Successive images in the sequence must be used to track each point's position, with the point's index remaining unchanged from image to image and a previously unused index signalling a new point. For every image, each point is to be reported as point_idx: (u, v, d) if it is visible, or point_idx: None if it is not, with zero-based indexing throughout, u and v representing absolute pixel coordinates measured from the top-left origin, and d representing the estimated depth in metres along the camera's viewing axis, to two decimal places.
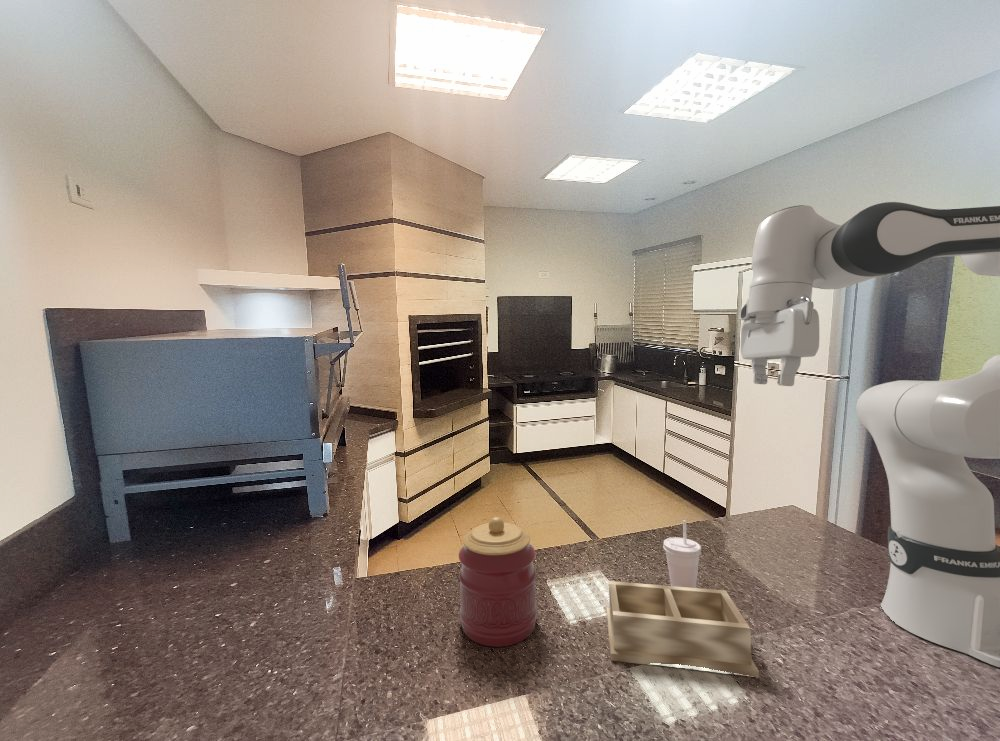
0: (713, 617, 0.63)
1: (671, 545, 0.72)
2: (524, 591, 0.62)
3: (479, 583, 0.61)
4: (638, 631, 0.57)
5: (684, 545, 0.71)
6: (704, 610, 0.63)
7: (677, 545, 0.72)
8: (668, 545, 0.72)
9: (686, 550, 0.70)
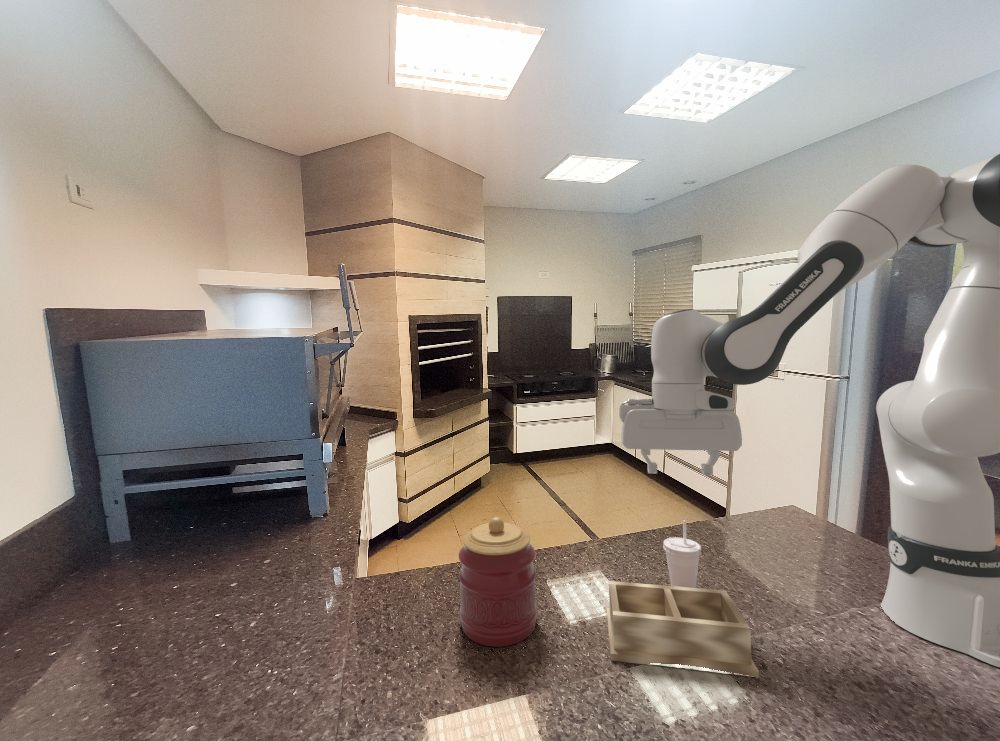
0: (713, 617, 0.63)
1: (671, 545, 0.72)
2: (524, 591, 0.62)
3: (479, 583, 0.61)
4: (638, 631, 0.57)
5: (684, 545, 0.71)
6: (704, 610, 0.63)
7: (677, 545, 0.72)
8: (668, 545, 0.72)
9: (686, 550, 0.70)
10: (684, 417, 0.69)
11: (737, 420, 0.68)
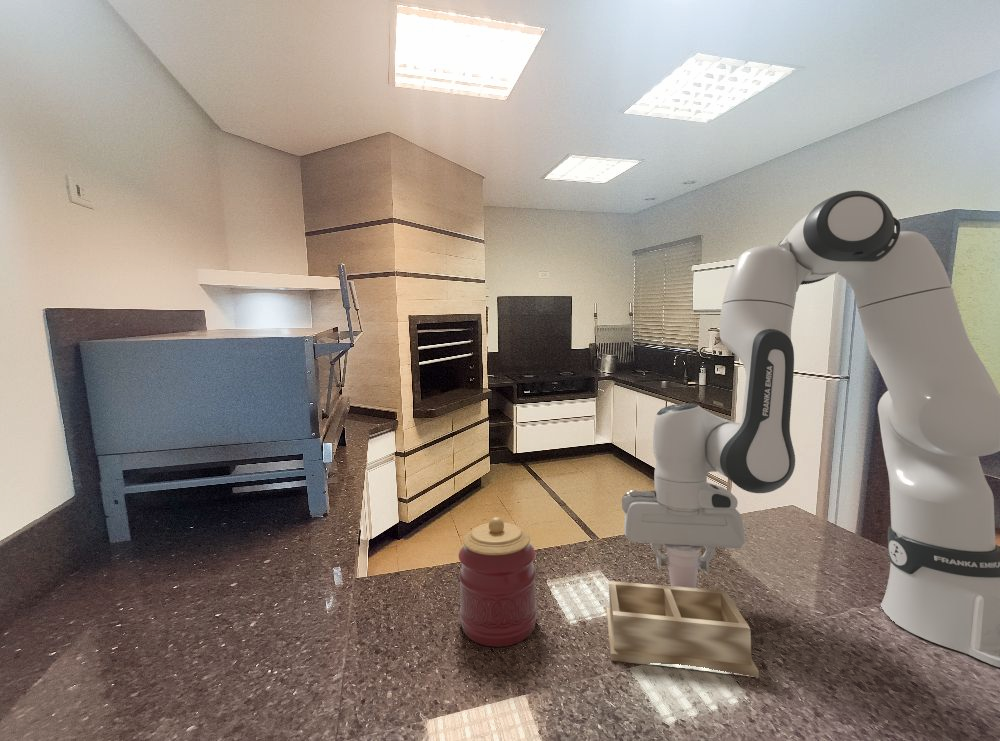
0: (713, 617, 0.63)
1: (671, 545, 0.72)
2: (524, 591, 0.62)
3: (479, 583, 0.61)
4: (638, 631, 0.57)
5: (684, 545, 0.71)
6: (704, 610, 0.63)
7: (677, 545, 0.72)
8: (668, 545, 0.72)
9: (686, 550, 0.70)
10: (687, 514, 0.69)
11: (740, 519, 0.68)
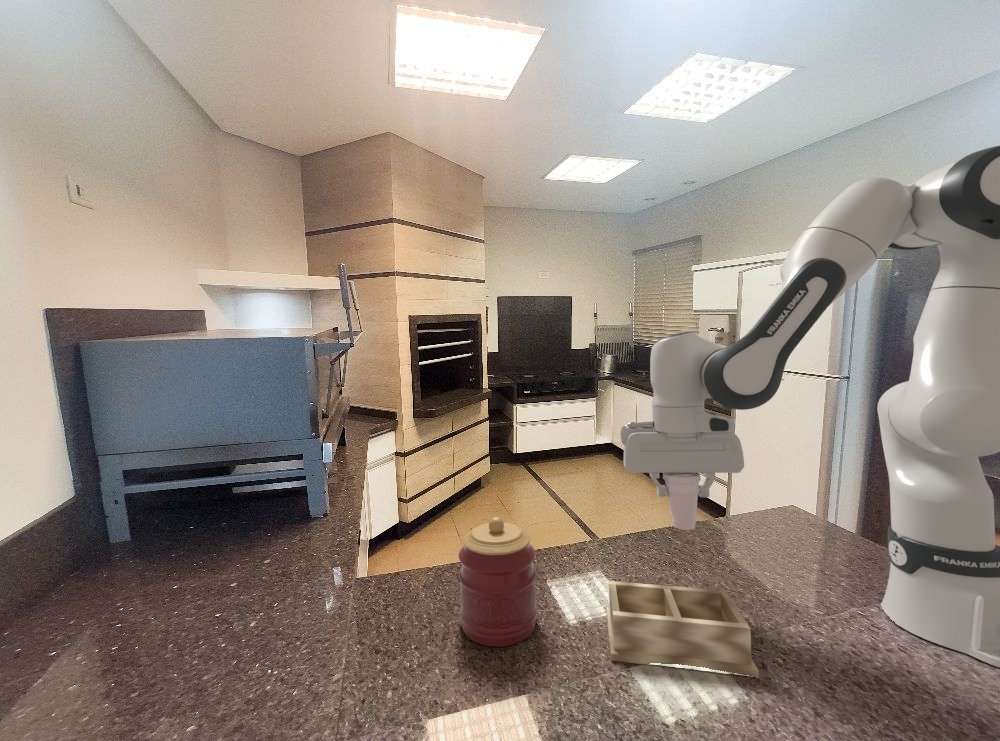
0: (713, 617, 0.63)
1: (670, 474, 0.72)
2: (524, 591, 0.62)
3: (479, 583, 0.61)
4: (638, 631, 0.57)
5: (683, 473, 0.72)
6: (704, 610, 0.63)
7: (676, 474, 0.72)
8: (667, 474, 0.72)
9: (685, 477, 0.70)
10: (685, 440, 0.69)
11: (738, 442, 0.68)
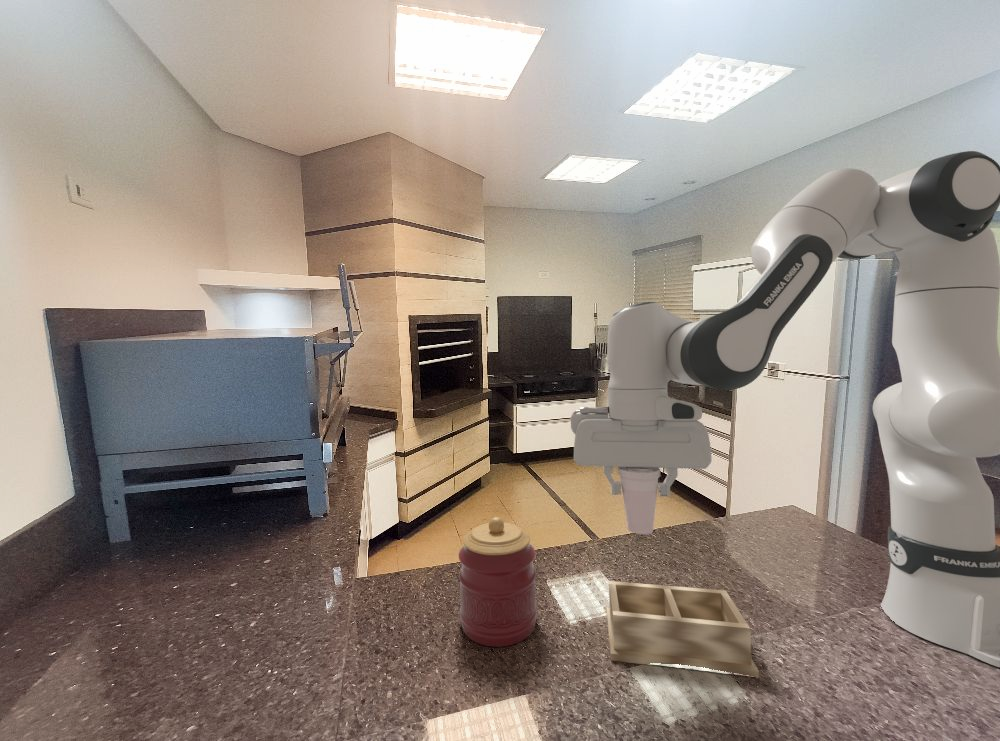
0: (713, 617, 0.63)
1: (626, 469, 0.61)
2: (524, 591, 0.62)
3: (479, 583, 0.61)
4: (638, 631, 0.57)
5: (641, 468, 0.61)
6: (704, 610, 0.63)
7: (632, 468, 0.61)
8: (622, 469, 0.61)
9: (642, 472, 0.59)
10: (643, 429, 0.59)
11: (705, 432, 0.57)
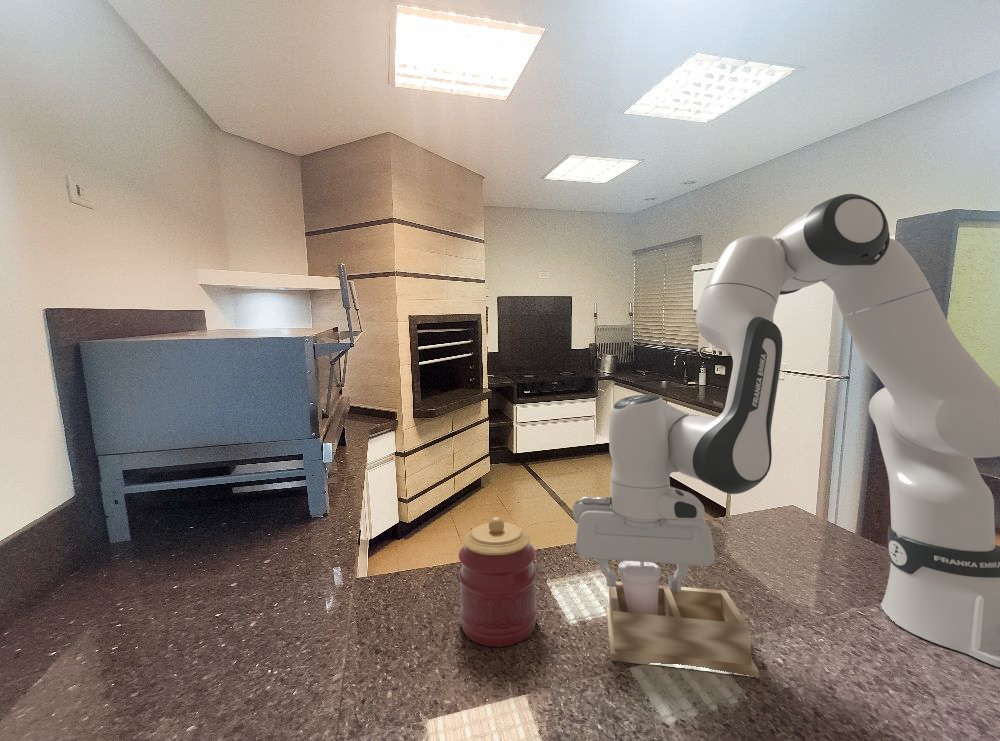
0: (713, 617, 0.63)
1: (626, 569, 0.62)
2: (524, 591, 0.62)
3: (479, 583, 0.61)
4: (638, 631, 0.57)
5: (641, 568, 0.61)
6: (704, 610, 0.63)
7: (632, 569, 0.61)
8: (622, 569, 0.62)
9: (642, 575, 0.59)
10: (645, 526, 0.58)
11: (708, 531, 0.57)
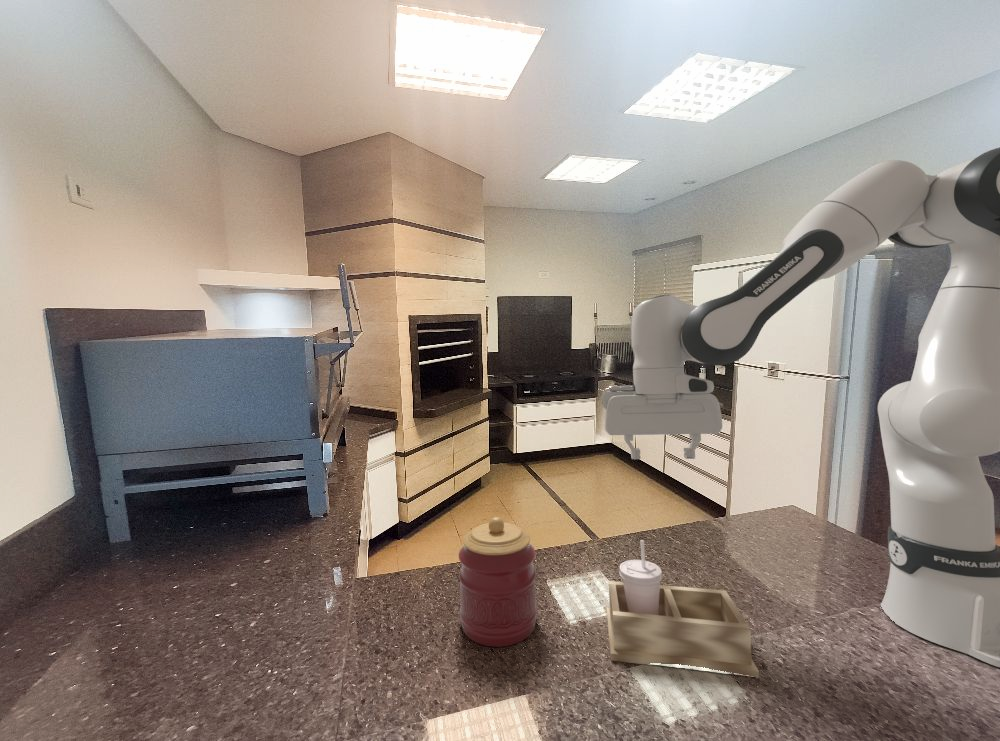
0: (713, 617, 0.63)
1: (627, 570, 0.61)
2: (524, 591, 0.62)
3: (479, 583, 0.61)
4: (638, 631, 0.57)
5: (642, 570, 0.61)
6: (704, 610, 0.63)
7: (634, 570, 0.61)
8: (624, 570, 0.61)
9: (643, 576, 0.59)
10: (665, 401, 0.70)
11: (717, 403, 0.69)
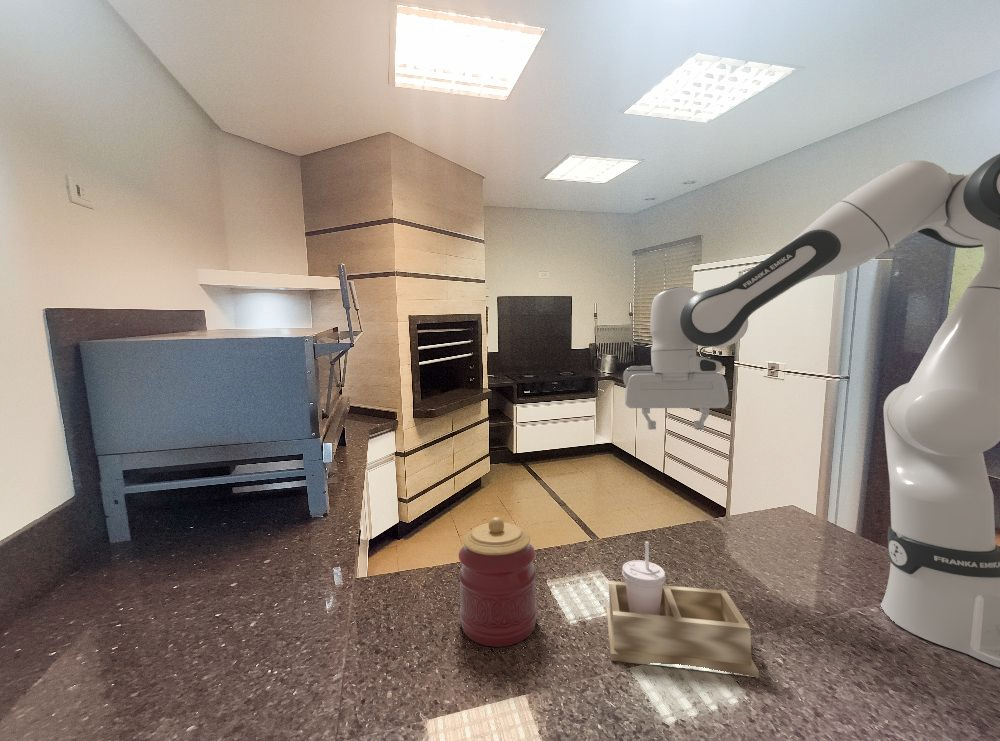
0: (713, 617, 0.63)
1: (630, 570, 0.61)
2: (524, 591, 0.62)
3: (479, 583, 0.61)
4: (638, 631, 0.57)
5: (645, 571, 0.60)
6: (704, 610, 0.63)
7: (637, 571, 0.61)
8: (627, 570, 0.61)
9: (646, 577, 0.59)
10: (679, 379, 0.81)
11: (724, 381, 0.80)
